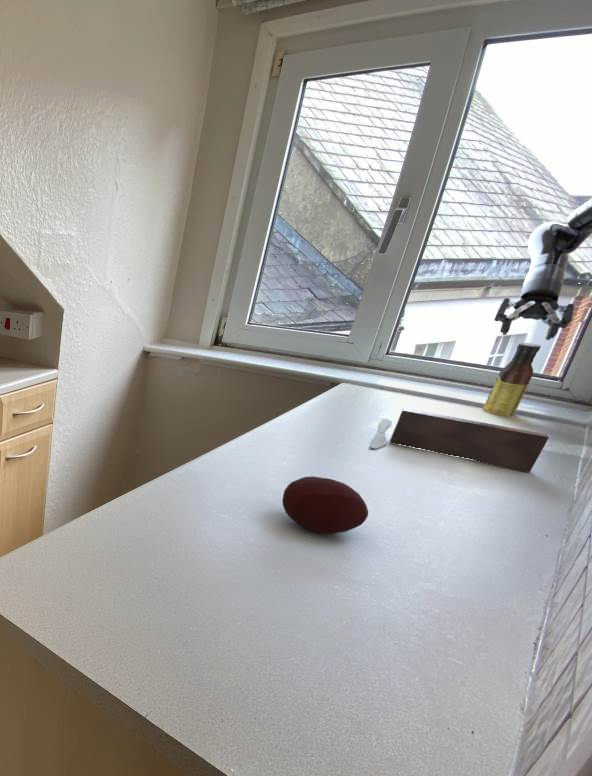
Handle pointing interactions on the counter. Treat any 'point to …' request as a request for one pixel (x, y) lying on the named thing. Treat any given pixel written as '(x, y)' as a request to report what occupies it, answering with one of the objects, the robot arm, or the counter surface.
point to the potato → (324, 505)
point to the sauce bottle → (512, 382)
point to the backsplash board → (469, 439)
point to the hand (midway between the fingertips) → (527, 335)
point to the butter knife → (381, 434)
